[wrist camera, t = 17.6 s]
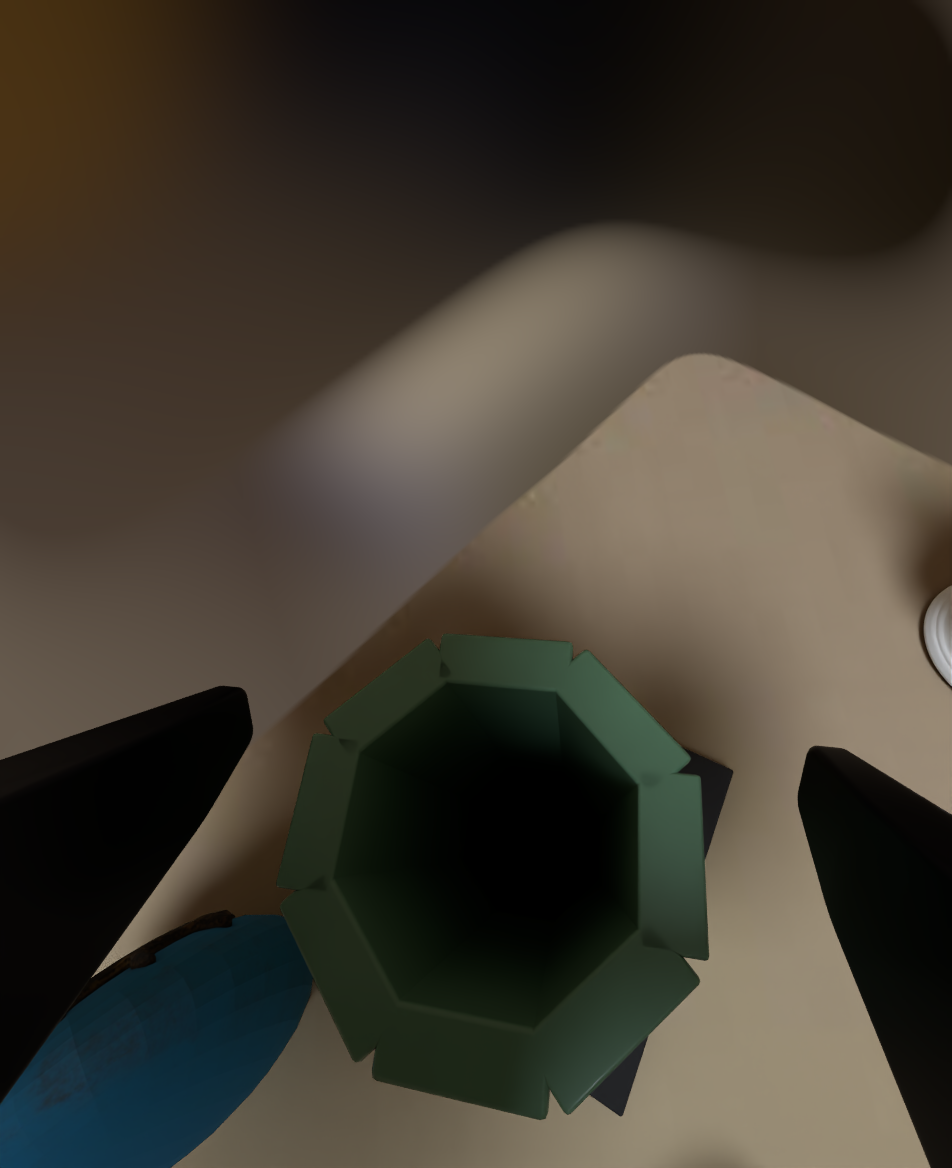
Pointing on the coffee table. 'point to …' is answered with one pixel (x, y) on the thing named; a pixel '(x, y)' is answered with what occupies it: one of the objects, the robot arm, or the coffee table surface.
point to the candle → (940, 633)
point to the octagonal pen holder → (455, 899)
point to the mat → (558, 856)
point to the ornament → (159, 1048)
